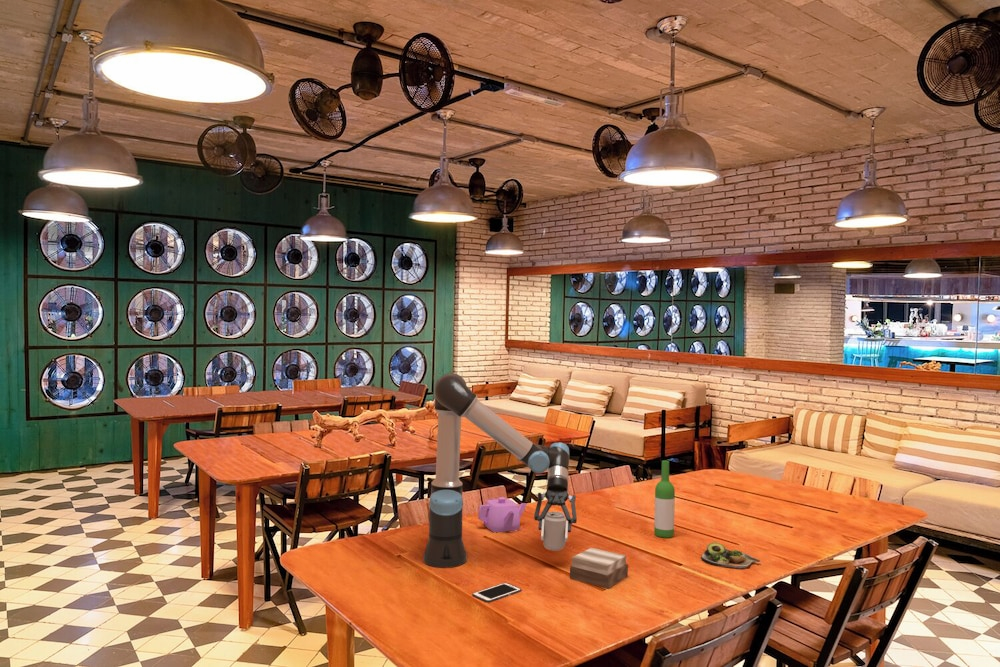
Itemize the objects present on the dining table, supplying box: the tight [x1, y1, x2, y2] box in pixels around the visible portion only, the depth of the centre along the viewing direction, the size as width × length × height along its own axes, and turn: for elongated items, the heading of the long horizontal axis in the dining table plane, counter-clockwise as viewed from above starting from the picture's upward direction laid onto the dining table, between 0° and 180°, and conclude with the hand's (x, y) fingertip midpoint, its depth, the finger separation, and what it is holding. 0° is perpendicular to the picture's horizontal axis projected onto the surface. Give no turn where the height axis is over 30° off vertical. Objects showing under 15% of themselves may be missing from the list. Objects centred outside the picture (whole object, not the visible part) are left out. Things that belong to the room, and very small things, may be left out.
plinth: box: [569, 547, 629, 590], centre depth 224 cm, size 14×14×7 cm
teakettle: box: [477, 496, 528, 533], centre depth 279 cm, size 17×17×12 cm
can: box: [542, 511, 567, 552], centre depth 235 cm, size 8×8×12 cm
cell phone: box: [471, 582, 522, 604], centre depth 209 cm, size 8×15×1 cm, turn 133°
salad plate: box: [700, 542, 761, 569], centre depth 243 cm, size 19×18×5 cm
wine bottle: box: [653, 459, 676, 539], centre depth 272 cm, size 8×8×30 cm
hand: (554, 539), depth 232 cm, fingers closed on can, 7 cm apart
